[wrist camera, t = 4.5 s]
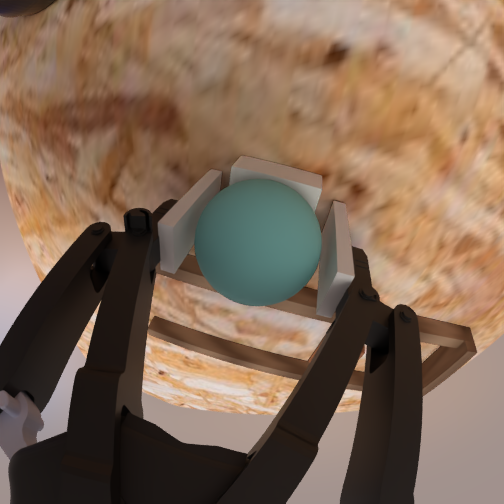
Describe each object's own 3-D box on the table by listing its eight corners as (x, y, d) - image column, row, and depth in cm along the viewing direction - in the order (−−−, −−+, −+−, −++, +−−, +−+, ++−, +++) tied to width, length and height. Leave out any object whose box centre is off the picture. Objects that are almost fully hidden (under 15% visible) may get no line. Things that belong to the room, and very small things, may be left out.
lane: (155, 322, 28) (136, 356, 25) (144, 241, 21) (112, 279, 18) (409, 383, 26) (411, 417, 22) (469, 327, 19) (481, 368, 15)
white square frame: (231, 222, 18) (222, 239, 17) (241, 155, 15) (231, 165, 14) (301, 241, 18) (298, 259, 16) (322, 175, 15) (322, 189, 13)
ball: (214, 240, 17) (175, 309, 13) (224, 151, 14) (171, 201, 9) (305, 265, 17) (294, 344, 12) (336, 179, 13) (343, 246, 9)
